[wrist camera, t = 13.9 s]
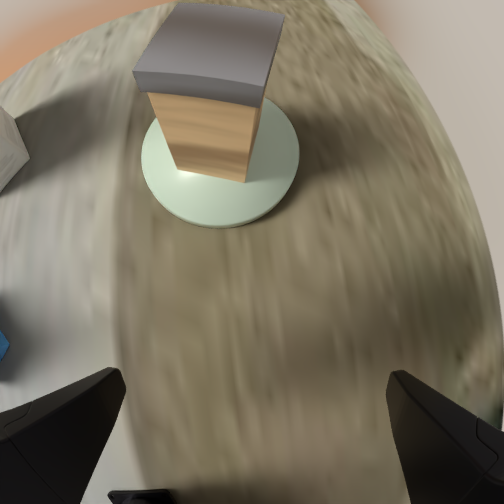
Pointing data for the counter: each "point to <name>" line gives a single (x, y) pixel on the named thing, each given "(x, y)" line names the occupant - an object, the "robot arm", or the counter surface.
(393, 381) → the robot arm
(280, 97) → the counter surface
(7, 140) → the skincare box
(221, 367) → the counter surface
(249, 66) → the grey cushioned footstool
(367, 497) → the counter surface
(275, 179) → the sage green coaster
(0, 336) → the perfume bottle
